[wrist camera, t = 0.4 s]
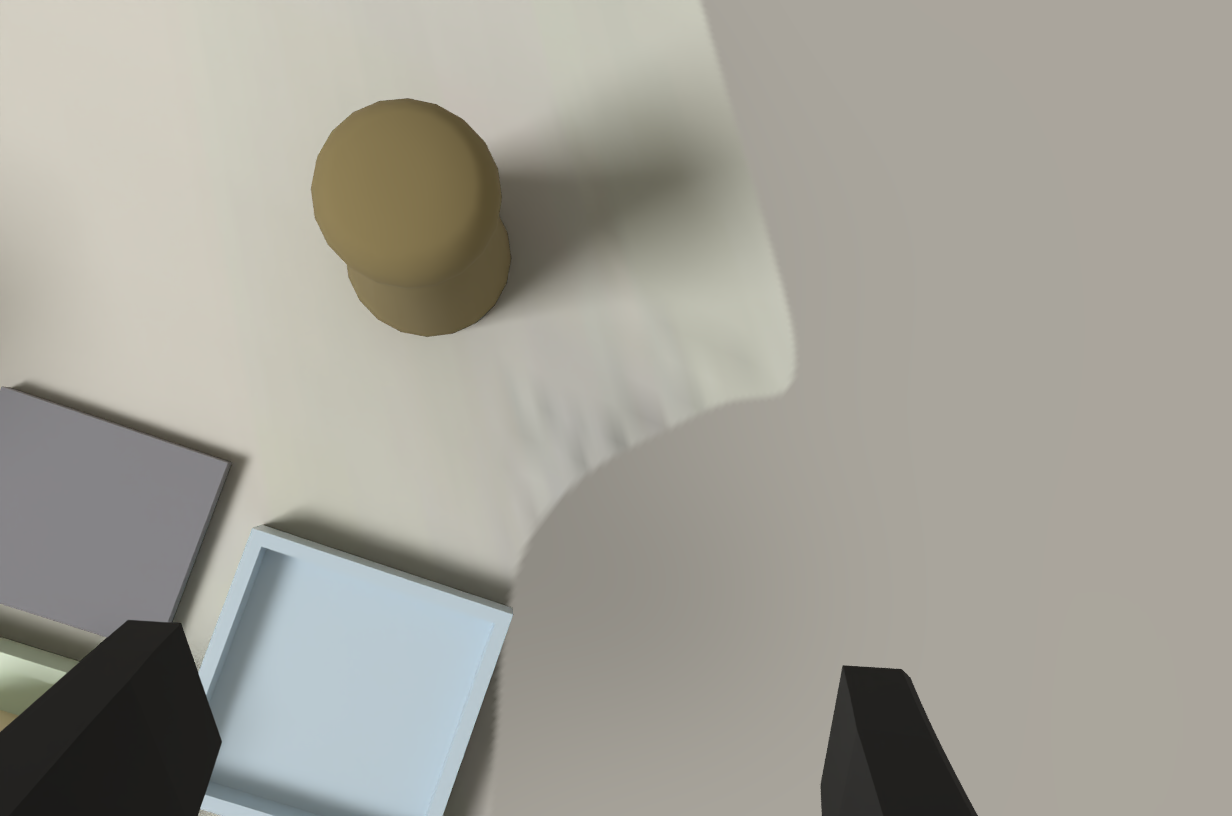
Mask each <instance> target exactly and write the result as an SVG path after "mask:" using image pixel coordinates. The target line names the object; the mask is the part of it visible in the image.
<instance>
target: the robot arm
mask: <svg viewBox="0 0 1232 816" xmlns="http://www.w3.org/2000/svg"><path fill="white" fill-rule="evenodd" d="M221 744H222V740H221V737H220V734H219V731H218V728H217V725H216V723H215V720H214V717H213V714H212V711H211V708H210V705H209V702H208V700H207V697H206V694H205V691H204V688H203V685H202V682H201V679H200V677H199V674H198V671H197V668H196V665H195V662H194V659H193V656H192V654H191V651H190V648H189V645H188V642H187V639H186V636H185V633H184V631H183V628H182V625H181V623H171V622H155V621H139V620H127V621H126V622H125V623H124V624H122V625H121V626H120V627H119V628H118V629H117V630H115V631H114V632H113V633H112V634H111V635H110V636H108V637H107V638H106V639H105V640H104V641H103V642H101V643H100V644H99V645H98V646H97V647H96V648H95V649H94V650H92V651H91V652H90V653H89V654H88V655H87V656H86V657H84V658H83V659H82V660H81V661H80V662H79V663H78V664H77V665H75V666H74V667H73V668H72V669H71V670H70V671H69V672H68V673H66V674H65V675H64V676H63V677H62V678H61V679H60V680H58V681H57V682H56V683H55V684H54V685H53V686H52V687H51V688H49V689H48V690H47V691H46V692H45V693H44V694H43V695H42V696H40V697H39V698H38V699H37V700H36V701H35V702H34V703H32V704H31V705H30V706H29V707H28V708H27V709H26V710H25V711H23V712H22V713H21V714H20V715H19V716H18V717H17V718H15V719H14V720H13V721H12V722H11V723H10V724H9V725H7V726H6V727H5V728H4V729H3V730H2V731H1V732H0V816H198V813H199V810H200V807H201V805H202V802H203V799H204V796H205V793H206V791H207V787H208V784H209V781H210V778H211V775H212V772H213V769H214V766H215V763H216V759H217V756H218V753H219V750H220V747H221ZM821 806H822V816H978V815H977V814H976V812H975V810H974V808H973V806H972V804H971V802H970V800H969V799H968V797H967V795H966V793H965V791H964V789H963V787H962V785H961V783H960V782H959V780H958V778H957V776H956V774H955V772H954V770H953V768H952V766H951V764H950V762H949V760H948V758H947V756H946V754H945V752H944V750H943V749H942V746H941V744H940V742H939V740H938V738H937V736H936V734H935V732H934V730H933V728H932V726H931V723H930V722H929V719H928V717H927V715H926V713H925V710H924V708H923V706H922V704H921V702H920V699H919V697H918V695H917V692H916V690H915V688H914V685H913V683H912V680H911V678H910V677H909V676H908V675H907V674H906V673H905V672H904V671H903V670H902V669H890V668H875V667H858V666H843V667H842V672H841V678H840V683H839V688H838V694H837V699H836V705H835V710H834V715H833V721H832V726H831V731H830V737H829V742H828V748H827V753H826V759H825V764H824V769H823V775H822V780H821Z"/></svg>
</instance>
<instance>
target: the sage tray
mask: <svg viewBox="0 0 1232 816" xmlns="http://www.w3.org/2000/svg"><path fill="white" fill-rule="evenodd" d="M78 663H79V661H76V660H73V659H70V658H66V657H63V656H60V655H57V654H54V653H50V652H47V651H44V650H41V649H38V648H34V647H31V646H28V645H25V644H22V643H18V642H15V641H12V640H9V639H6V638H2V637H0V710H2V711H6V712H9V713H12V714H15V715H20V714H21V713H22V712H23V711H25V710H26V709H27V708H28V707H29V706H30V705H31V704H32V703H34V702H35V701H36V700H37V699H38V698H39V697H40V696H42V695H43V694H44V693H45V692H46V691H47V690H48V689H49V688H51V687H52V686H53V685H54V684H55V683H56V682H57V681H58V680H60V679H61V678H62V677H63V676H64V675H65V674H66V673H68V672H69V671H70V670H71V669H72V668H73V667H74V666H75V665H77V664H78Z"/></svg>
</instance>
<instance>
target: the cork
mask: <svg viewBox="0 0 1232 816" xmlns="http://www.w3.org/2000/svg"><path fill="white" fill-rule="evenodd" d="M311 192H312V200H313V207H314V215H315V219H316V221H317V223H318V225H319V227H320V229H321V231H322V233H323V235H324V237H325V240H326V242H327V244H328V245H329V246H330V247H331V248H332V249H333V250H334V251H335V252H336V253H337V255H338V256H339V257H340V258H341V259H342V260H343V261H344V262H345V263H346V264H347V269H348V276H349V279H350V281H351V283H352V285H353V287H354V289H355V291H356V294H357V296H358V298H359V300H360V301H361V302H362V303H363V304H364V305H365V306H366V307H367V309H368V310H369V311H370V312H371V313H372V314H373V315H374V316H375V317H376V318H377V319H378V320H380V321H382V322H384V323H386V324H387V325H389V326H391V327H393V328H395V329H397V330H399V331H400V332H404V333H410V334H415V335H420V336H426V337H429V336H437V335H445V334H453V333H455V332H457V331H459V330H461V329H463V328H466V327H468V326H470V325H472V324H474V323H476V322H477V321H478V320H479V319H480V318H481V317H483V316H484V315H485V314H486V313H487V312H488V311H489V310H490V309H491V308H492V307H493V306H494V305H495V303H496V302H497V300H498V298H499V296H500V294H501V292H502V291H503V289H504V287H505V285H506V283H507V278H508V273H509V267H510V262H511V254H510V247H509V240H508V233H507V231H506V229H505V227H504V225H503V223H502V221H501V219H500V217H499V212H500V207H501V200H502V195H501V188H500V181H499V173H498V168H497V166H496V164H495V162H494V160H493V158H492V156H491V153H490V151H489V149H488V147H487V145H486V143H485V142H484V141H483V140H482V139H481V137H480V136H479V135H478V134H477V133H476V132H475V131H474V130H473V129H472V128H471V127H470V126H469V125H468V124H467V123H466V122H465V121H464V120H463V119H462V118H460V117H458V116H456V115H454V114H453V113H451V112H449V111H447V110H446V109H444V108H442V107H440V106H438V105H437V104H432V103H428V102H423V101H418V100H414V99H409V98H406V99H396V100H386V101H379V102H376V103H374V104H372V105H369V106H367V107H365V108H362V109H360V110H358V111H355V112H353V113H352V114H351V115H350V116H349V117H347V118H346V119H345V120H344V121H343V122H342V123H341V124H340V125H338V126H337V127H336V128H335V129H334V130H333V131H332V132H331V134H330V135H329V137H328V139H327V141H326V142H325V144H324V146H323V148H322V149H321V151H320V153H319V155H318V157H317V160H316V165H315V170H314V176H313V181H312V186H311Z"/></svg>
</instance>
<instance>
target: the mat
mask: <svg viewBox="0 0 1232 816" xmlns="http://www.w3.org/2000/svg"><path fill="white" fill-rule="evenodd" d="M231 464H232V462H229V461H226V460H223V459H220V458H217V457H214V456H211V455H208V454H205V453H202V452H199V451H196V450H193V449H190V448H187V447H185V446H182V445H179V444H176V443H173V442H170V441H167V440H164V439H161V438H158V437H155V436H152V435H149V434H146V433H143V432H140V431H137V430H134V429H131V428H128V427H125V426H122V425H119V424H116V423H113V422H111V421H108V420H105V419H102V418H99V417H96V416H93V415H90V414H87V413H84V412H81V411H78V410H75V409H72V408H69V407H66V406H63V405H60V404H57V403H54V402H51V401H48V400H45V399H42V398H40V397H37V396H34V395H31V394H28V393H25V392H22V391H19V390H16V389H13V388H10V387H1V390H0V604H3V605H6V606H9V607H13V608H16V609H19V610H22V611H25V612H28V613H32V614H35V615H38V616H41V617H44V618H47V619H51V620H54V621H57V622H60V623H63V624H66V625H70V626H73V627H76V628H79V629H82V630H85V631H88V632H92V633H95V634H98V635H101V636H104V637H108V636H110V635H111V634H112V633H113V632H114V631H115V630H117V629H118V628H119V627H120V626H121V625H122V624H124V623H125V622H126V621H127V620H139V621H155V622H171V623H172V621H173V618H174V615H175V613H176V610H177V607H178V605H179V602H180V599H181V597H182V594H183V591H184V589H185V586H186V584H187V581H188V578H189V576H190V573H191V570H192V568H193V565H194V562H195V560H196V557H197V554H198V552H199V549H200V546H201V544H202V541H203V538H204V536H205V533H206V530H207V528H208V525H209V522H210V520H211V517H212V514H213V512H214V509H215V506H216V504H217V501H218V498H219V496H220V493H221V490H222V488H223V485H224V482H225V480H226V477H227V474H228V472H229V469H230V466H231Z"/></svg>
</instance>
